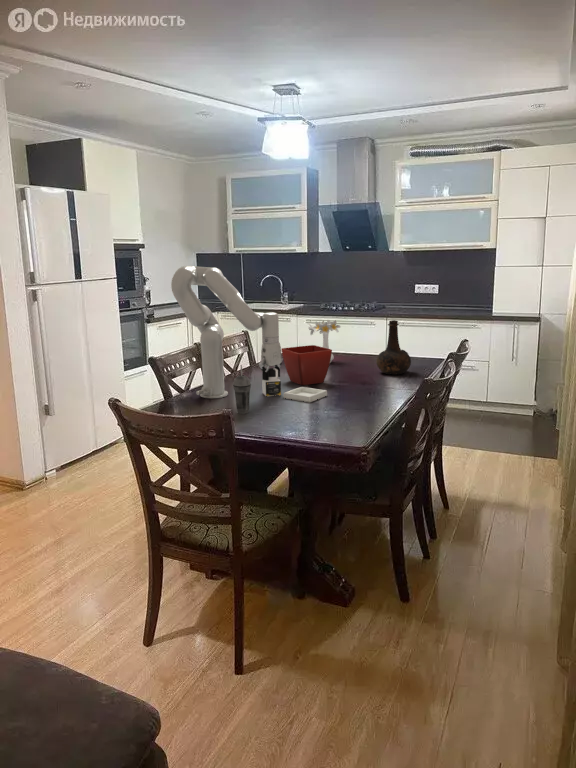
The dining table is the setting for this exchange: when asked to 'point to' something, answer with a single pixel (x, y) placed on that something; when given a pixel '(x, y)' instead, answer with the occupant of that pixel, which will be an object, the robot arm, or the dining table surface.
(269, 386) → the medicine bottle
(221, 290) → the robot arm
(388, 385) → the dining table surface
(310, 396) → the tray
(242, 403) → the beverage cup
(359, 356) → the dining table surface
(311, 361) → the plant pot
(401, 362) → the glass bottle
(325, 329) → the flower vase
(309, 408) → the dining table surface
